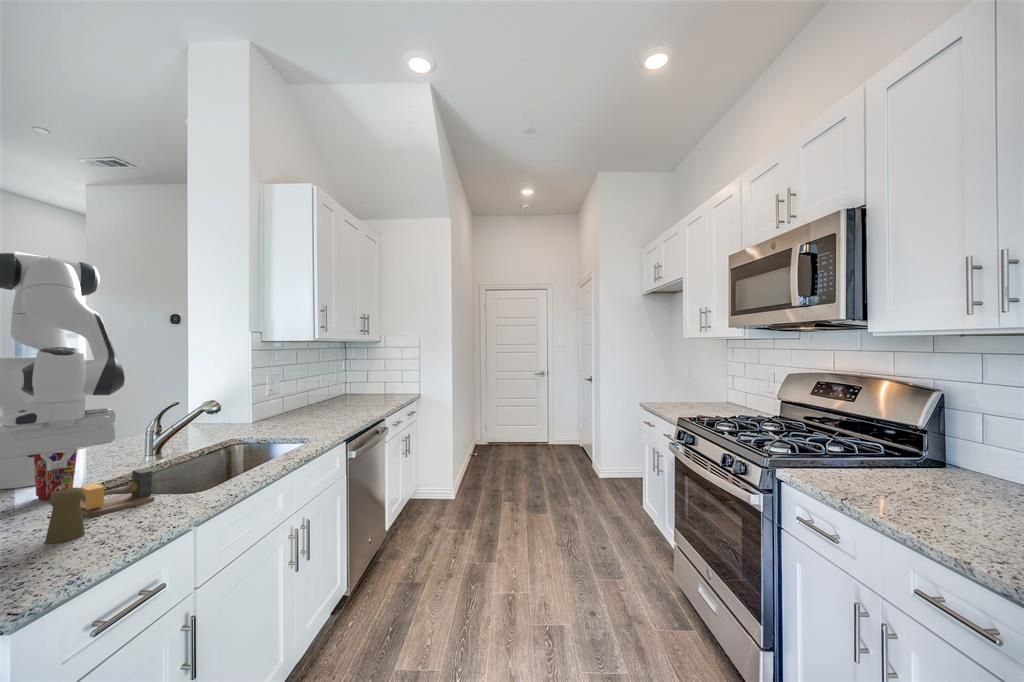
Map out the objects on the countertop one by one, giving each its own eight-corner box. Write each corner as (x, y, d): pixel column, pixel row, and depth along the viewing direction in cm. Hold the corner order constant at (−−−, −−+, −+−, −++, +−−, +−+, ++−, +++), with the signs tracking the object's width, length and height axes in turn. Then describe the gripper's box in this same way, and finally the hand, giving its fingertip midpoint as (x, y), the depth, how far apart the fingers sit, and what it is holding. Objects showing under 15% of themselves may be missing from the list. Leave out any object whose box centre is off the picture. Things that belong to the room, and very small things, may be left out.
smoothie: (70, 498, 110) (73, 427, 111) (25, 505, 106) (28, 430, 106) (80, 489, 117) (83, 422, 118) (38, 495, 113) (41, 425, 113)
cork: (57, 546, 85) (59, 495, 86) (37, 542, 87) (39, 492, 87) (92, 533, 91) (94, 486, 91) (72, 530, 92) (74, 483, 93)
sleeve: (79, 506, 102) (80, 486, 102) (95, 502, 105) (96, 483, 105) (87, 509, 100) (88, 490, 100) (103, 505, 103) (104, 486, 103)
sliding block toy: (75, 510, 103) (76, 479, 103) (139, 494, 115) (140, 466, 115) (89, 517, 99) (90, 486, 99) (154, 500, 111) (155, 472, 111)
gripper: (110, 406, 108) (109, 457, 107) (-12, 417, 90) (-14, 478, 89) (120, 408, 105) (119, 460, 105) (-4, 420, 87) (-6, 483, 86)
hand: (57, 468), depth 97 cm, fingers closed
